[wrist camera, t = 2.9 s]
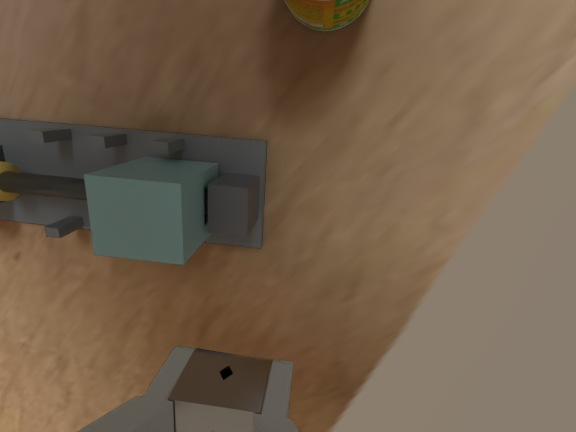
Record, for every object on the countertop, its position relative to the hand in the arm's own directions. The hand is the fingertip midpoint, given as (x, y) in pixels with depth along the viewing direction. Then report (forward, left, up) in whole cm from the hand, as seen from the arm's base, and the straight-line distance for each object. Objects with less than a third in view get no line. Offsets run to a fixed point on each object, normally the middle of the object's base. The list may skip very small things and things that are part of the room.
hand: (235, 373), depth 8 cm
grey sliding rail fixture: (0, -13, -16) cm, 20 cm away
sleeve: (0, -8, -15) cm, 16 cm away
